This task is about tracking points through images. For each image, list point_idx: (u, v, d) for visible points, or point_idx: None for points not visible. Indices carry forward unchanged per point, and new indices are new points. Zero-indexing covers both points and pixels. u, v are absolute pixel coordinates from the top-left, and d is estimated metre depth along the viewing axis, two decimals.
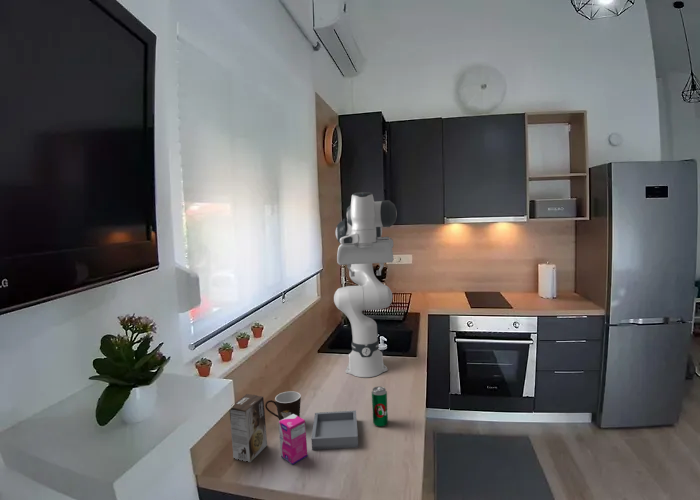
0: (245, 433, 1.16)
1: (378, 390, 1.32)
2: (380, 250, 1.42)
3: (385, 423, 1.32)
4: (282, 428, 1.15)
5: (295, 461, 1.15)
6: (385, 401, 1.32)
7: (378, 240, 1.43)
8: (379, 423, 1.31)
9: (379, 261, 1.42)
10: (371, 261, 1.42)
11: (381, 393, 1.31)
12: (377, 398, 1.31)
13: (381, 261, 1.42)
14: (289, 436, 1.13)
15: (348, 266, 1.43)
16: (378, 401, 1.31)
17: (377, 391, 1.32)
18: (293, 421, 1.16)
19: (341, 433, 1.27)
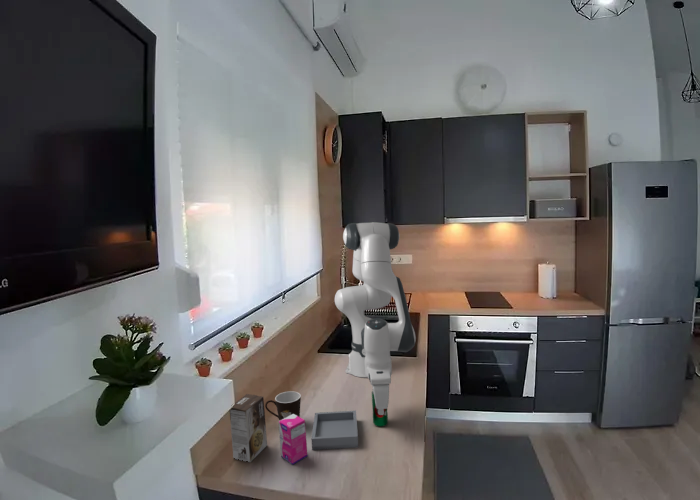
0: (245, 433, 1.16)
1: None
2: None
3: (385, 423, 1.32)
4: (282, 428, 1.15)
5: (295, 461, 1.15)
6: None
7: None
8: (379, 423, 1.31)
9: None
10: None
11: None
12: None
13: None
14: (289, 436, 1.13)
15: None
16: None
17: None
18: (293, 421, 1.16)
19: (341, 433, 1.27)
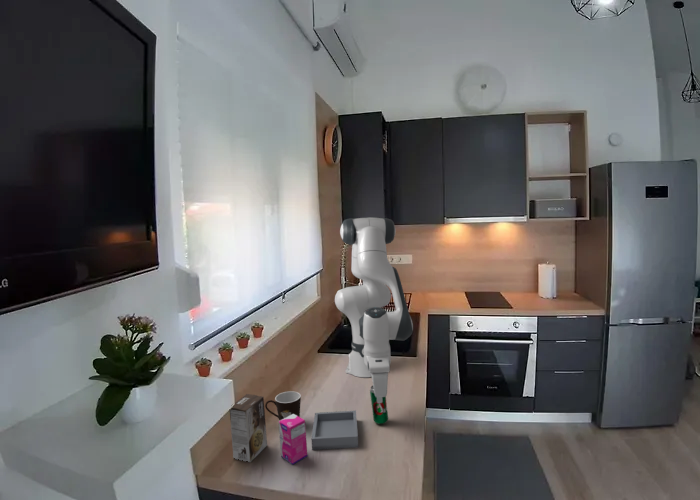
0: (245, 433, 1.16)
1: None
2: None
3: (385, 420, 1.32)
4: (282, 428, 1.15)
5: (295, 461, 1.15)
6: (383, 398, 1.32)
7: None
8: (379, 420, 1.32)
9: None
10: None
11: None
12: None
13: None
14: (289, 436, 1.13)
15: None
16: (376, 398, 1.31)
17: None
18: (293, 421, 1.16)
19: (341, 433, 1.27)
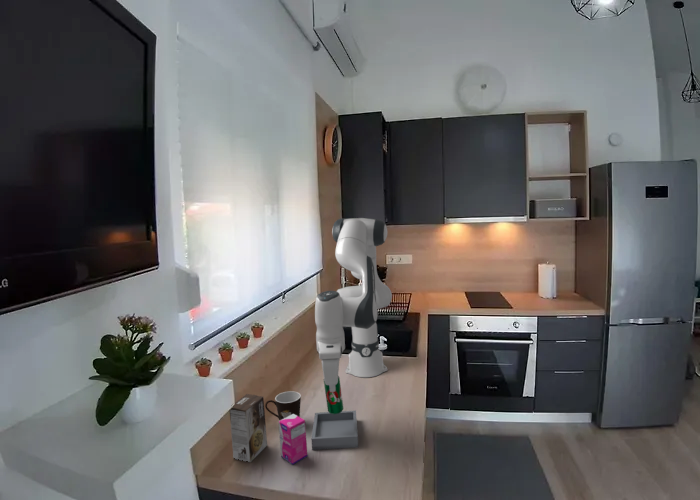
0: (245, 433, 1.16)
1: None
2: None
3: (339, 410, 1.25)
4: (282, 428, 1.15)
5: (295, 461, 1.15)
6: (337, 387, 1.24)
7: None
8: (333, 410, 1.24)
9: None
10: None
11: None
12: (328, 385, 1.24)
13: None
14: (289, 436, 1.13)
15: None
16: None
17: None
18: (293, 421, 1.16)
19: (341, 433, 1.27)
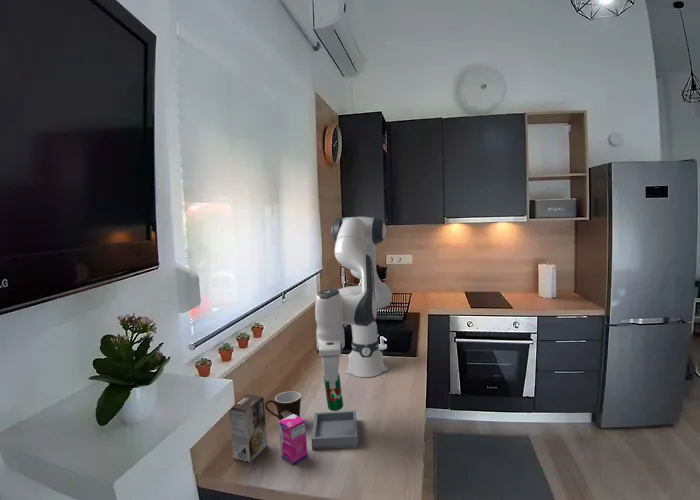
0: (245, 433, 1.16)
1: None
2: None
3: (339, 407, 1.26)
4: (282, 428, 1.15)
5: (295, 461, 1.15)
6: (337, 384, 1.26)
7: None
8: (333, 407, 1.26)
9: None
10: None
11: None
12: (328, 382, 1.25)
13: None
14: (289, 436, 1.13)
15: None
16: None
17: None
18: (293, 421, 1.16)
19: (341, 433, 1.27)
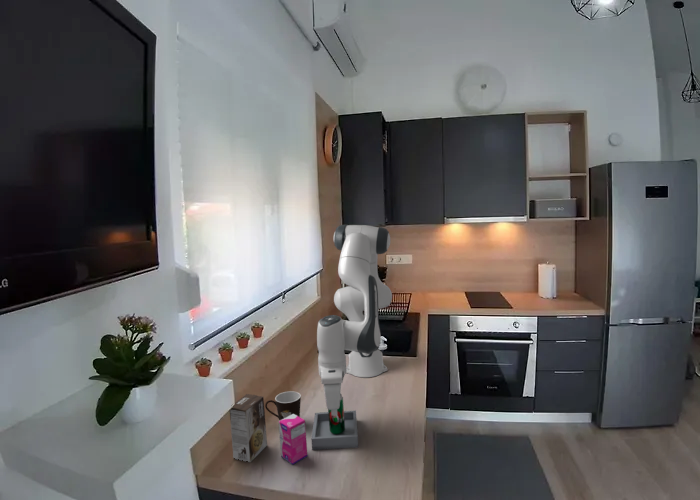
0: (245, 433, 1.16)
1: None
2: None
3: (341, 431, 1.27)
4: (282, 428, 1.15)
5: (295, 461, 1.15)
6: (340, 408, 1.26)
7: None
8: (335, 430, 1.26)
9: None
10: None
11: None
12: None
13: None
14: (289, 436, 1.13)
15: None
16: None
17: None
18: (293, 421, 1.16)
19: (341, 433, 1.27)
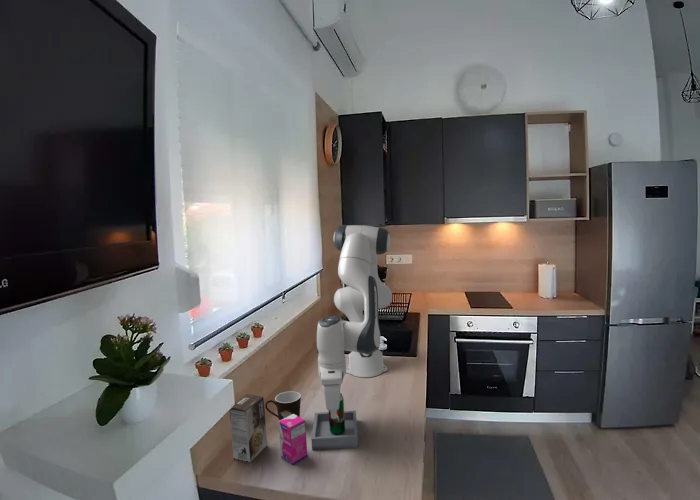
0: (245, 433, 1.16)
1: None
2: None
3: (341, 431, 1.27)
4: (282, 428, 1.15)
5: (295, 461, 1.15)
6: (341, 408, 1.26)
7: None
8: (335, 431, 1.26)
9: None
10: None
11: None
12: None
13: None
14: (289, 436, 1.13)
15: None
16: None
17: None
18: (293, 421, 1.16)
19: None
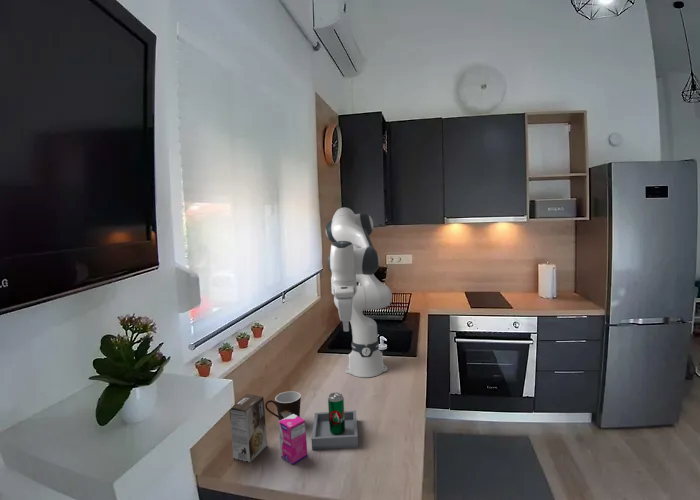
0: (245, 433, 1.16)
1: (334, 396, 1.27)
2: None
3: (341, 431, 1.27)
4: (282, 428, 1.15)
5: (295, 461, 1.15)
6: (341, 408, 1.26)
7: None
8: (335, 431, 1.26)
9: None
10: None
11: (336, 399, 1.26)
12: (332, 405, 1.26)
13: None
14: (289, 436, 1.13)
15: (348, 320, 1.34)
16: (334, 407, 1.25)
17: (333, 397, 1.26)
18: (293, 421, 1.16)
19: None
